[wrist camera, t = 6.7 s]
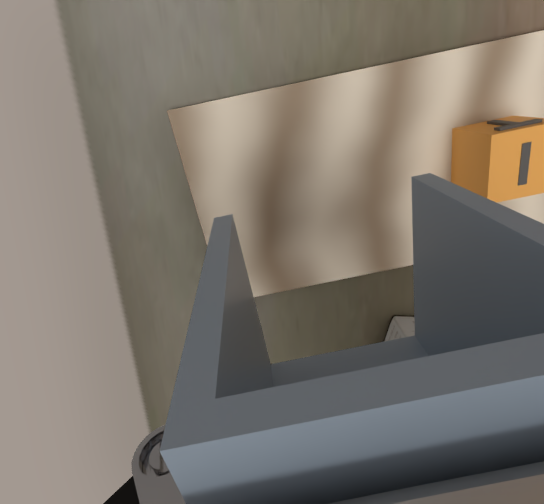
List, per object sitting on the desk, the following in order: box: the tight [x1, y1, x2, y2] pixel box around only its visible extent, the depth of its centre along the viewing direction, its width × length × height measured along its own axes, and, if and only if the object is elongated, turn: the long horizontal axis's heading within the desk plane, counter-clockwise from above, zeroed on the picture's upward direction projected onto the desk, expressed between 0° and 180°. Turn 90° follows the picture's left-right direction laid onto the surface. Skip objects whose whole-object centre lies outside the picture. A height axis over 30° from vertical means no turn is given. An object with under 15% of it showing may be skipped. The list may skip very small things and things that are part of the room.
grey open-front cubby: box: [160, 173, 544, 504], centre depth 9 cm, size 7×7×8 cm
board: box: [167, 30, 544, 297], centre depth 24 cm, size 26×14×1 cm, turn 101°
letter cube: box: [451, 116, 544, 203], centre depth 22 cm, size 4×4×4 cm
